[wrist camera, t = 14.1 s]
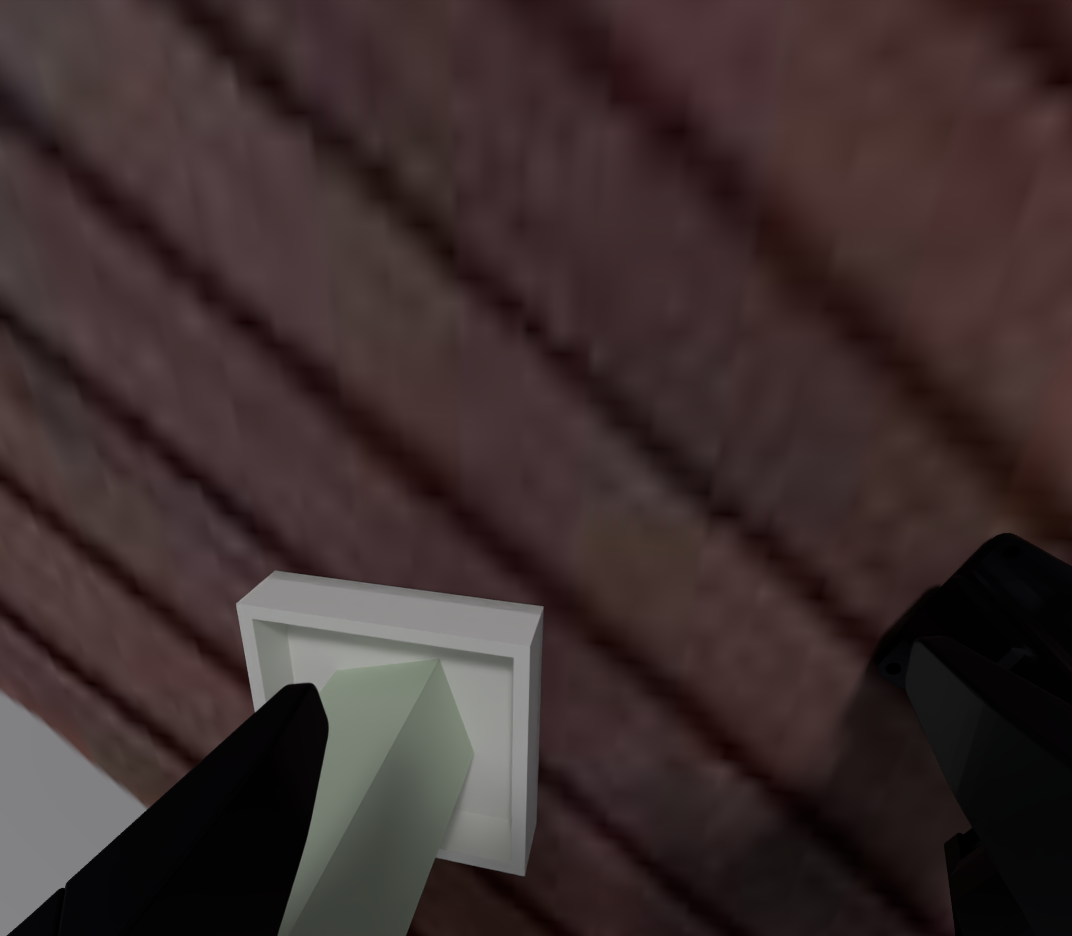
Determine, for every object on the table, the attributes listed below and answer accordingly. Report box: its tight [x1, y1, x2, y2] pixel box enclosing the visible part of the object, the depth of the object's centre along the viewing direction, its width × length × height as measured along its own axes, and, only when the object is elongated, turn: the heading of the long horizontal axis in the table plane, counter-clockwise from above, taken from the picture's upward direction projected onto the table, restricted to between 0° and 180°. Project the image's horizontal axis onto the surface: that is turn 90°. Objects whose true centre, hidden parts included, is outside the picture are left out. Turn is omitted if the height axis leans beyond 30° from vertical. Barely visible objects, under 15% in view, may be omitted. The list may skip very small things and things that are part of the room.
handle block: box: [278, 659, 474, 936], centre depth 21 cm, size 5×5×12 cm
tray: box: [236, 571, 544, 876], centre depth 26 cm, size 12×12×3 cm
